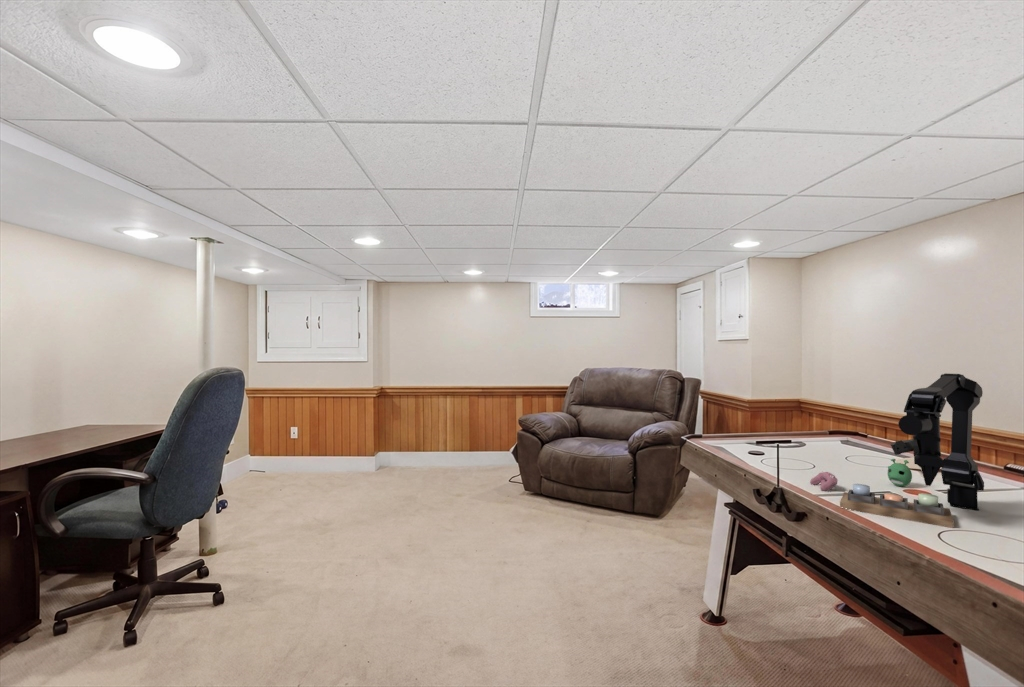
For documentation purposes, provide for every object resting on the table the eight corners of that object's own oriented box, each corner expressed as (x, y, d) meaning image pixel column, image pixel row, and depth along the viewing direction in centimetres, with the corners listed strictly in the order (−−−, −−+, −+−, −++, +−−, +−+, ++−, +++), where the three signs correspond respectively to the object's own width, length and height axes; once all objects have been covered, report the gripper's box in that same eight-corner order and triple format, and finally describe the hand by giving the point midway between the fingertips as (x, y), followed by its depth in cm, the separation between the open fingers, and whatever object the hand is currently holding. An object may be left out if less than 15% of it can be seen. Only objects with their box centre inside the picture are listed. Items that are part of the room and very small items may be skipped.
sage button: (937, 505, 140) (937, 495, 140) (938, 509, 136) (938, 498, 136) (918, 502, 142) (918, 492, 143) (918, 505, 139) (918, 495, 139)
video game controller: (833, 496, 165) (842, 479, 165) (820, 490, 166) (829, 472, 166) (820, 488, 175) (829, 472, 175) (808, 482, 176) (817, 466, 176)
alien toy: (882, 485, 175) (882, 458, 176) (894, 482, 178) (893, 456, 179) (904, 489, 169) (904, 462, 169) (916, 487, 172) (915, 460, 172)
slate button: (870, 494, 150) (870, 485, 150) (869, 498, 147) (869, 488, 147) (853, 492, 153) (853, 483, 153) (852, 495, 149) (852, 485, 150)
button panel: (949, 515, 141) (949, 501, 142) (953, 527, 131) (953, 513, 131) (844, 498, 158) (844, 486, 158) (840, 508, 147) (839, 495, 148)
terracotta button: (903, 504, 145) (902, 495, 145) (902, 508, 141) (902, 498, 141) (884, 502, 148) (884, 492, 148) (884, 505, 144) (884, 495, 144)
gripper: (892, 426, 152) (893, 474, 152) (891, 433, 138) (892, 486, 138) (939, 430, 145) (940, 480, 145) (942, 437, 131) (944, 494, 131)
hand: (928, 485), depth 140 cm, fingers closed
